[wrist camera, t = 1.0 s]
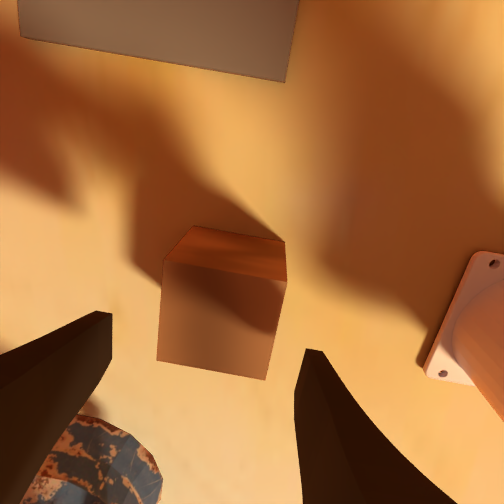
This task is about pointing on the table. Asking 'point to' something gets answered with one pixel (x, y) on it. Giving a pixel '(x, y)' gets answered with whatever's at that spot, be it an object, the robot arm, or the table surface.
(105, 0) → the rubber mat
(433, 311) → the table surface
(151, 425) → the table surface
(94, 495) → the lantern
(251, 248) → the walnut cube
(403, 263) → the table surface
